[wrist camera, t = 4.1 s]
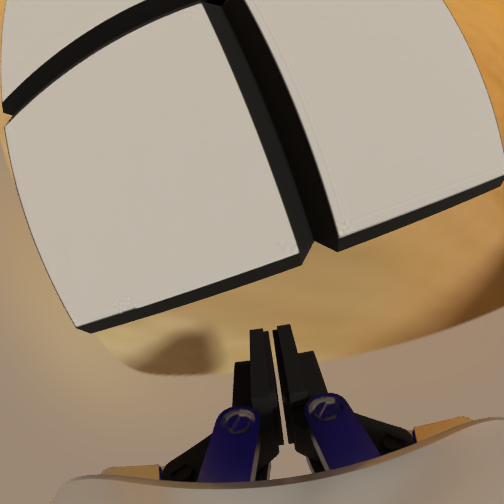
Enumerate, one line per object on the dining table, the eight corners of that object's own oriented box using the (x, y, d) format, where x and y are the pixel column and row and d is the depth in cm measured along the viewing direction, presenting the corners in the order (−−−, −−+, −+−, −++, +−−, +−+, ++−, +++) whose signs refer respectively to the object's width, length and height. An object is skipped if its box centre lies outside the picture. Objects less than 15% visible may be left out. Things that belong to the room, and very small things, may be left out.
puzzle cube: (179, 234, 14) (75, 345, 5) (120, 71, 12) (-1, -4, 2) (360, 170, 13) (516, 184, 4) (292, 10, 11) (335, -116, 1)
